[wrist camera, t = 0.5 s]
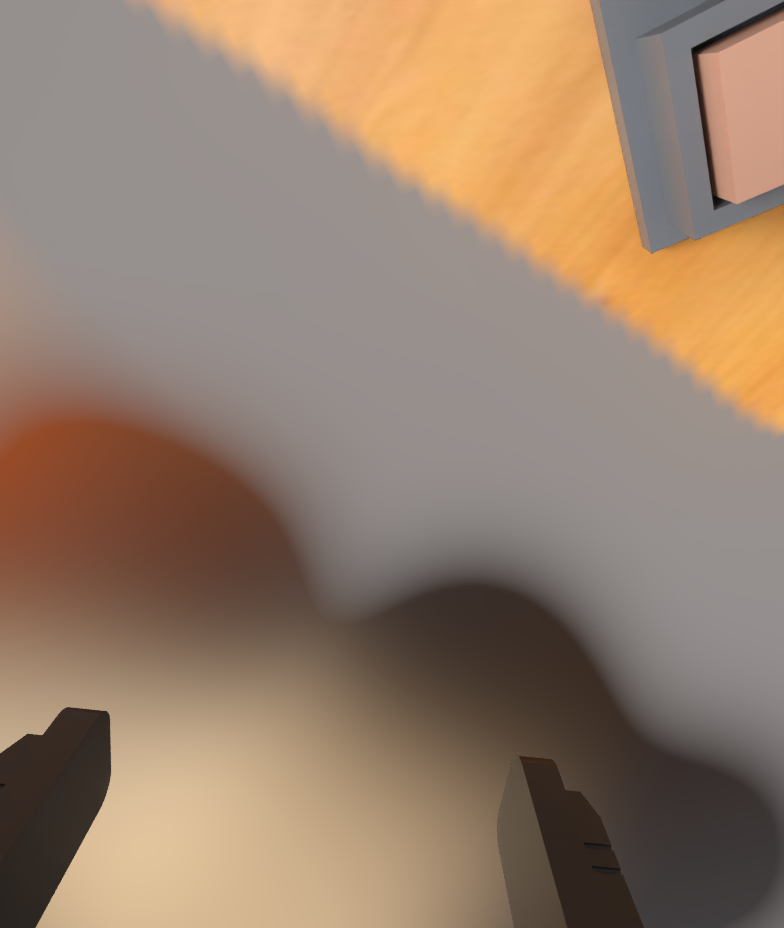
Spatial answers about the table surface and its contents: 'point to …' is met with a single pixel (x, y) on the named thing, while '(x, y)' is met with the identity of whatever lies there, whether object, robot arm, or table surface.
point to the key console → (670, 110)
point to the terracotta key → (743, 109)
